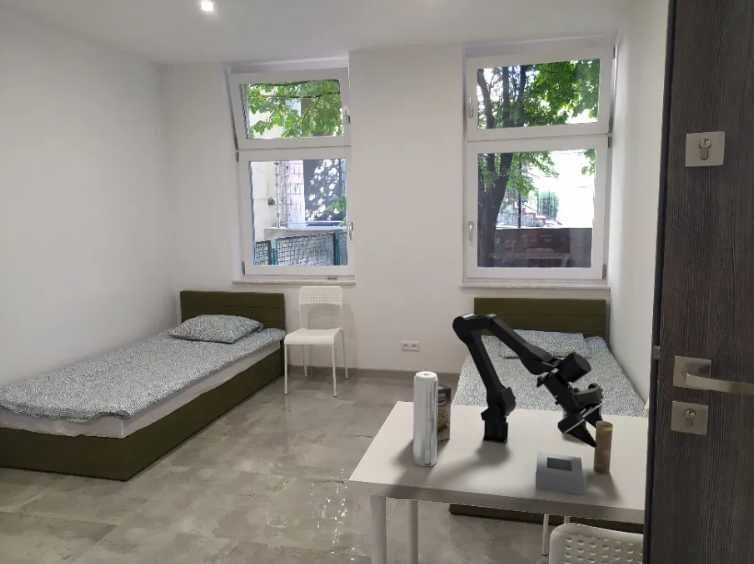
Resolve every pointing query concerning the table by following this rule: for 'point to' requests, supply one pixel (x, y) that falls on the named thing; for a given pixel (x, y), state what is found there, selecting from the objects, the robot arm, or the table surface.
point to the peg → (603, 447)
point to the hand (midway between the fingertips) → (601, 440)
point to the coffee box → (443, 412)
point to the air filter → (425, 418)
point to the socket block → (559, 473)
